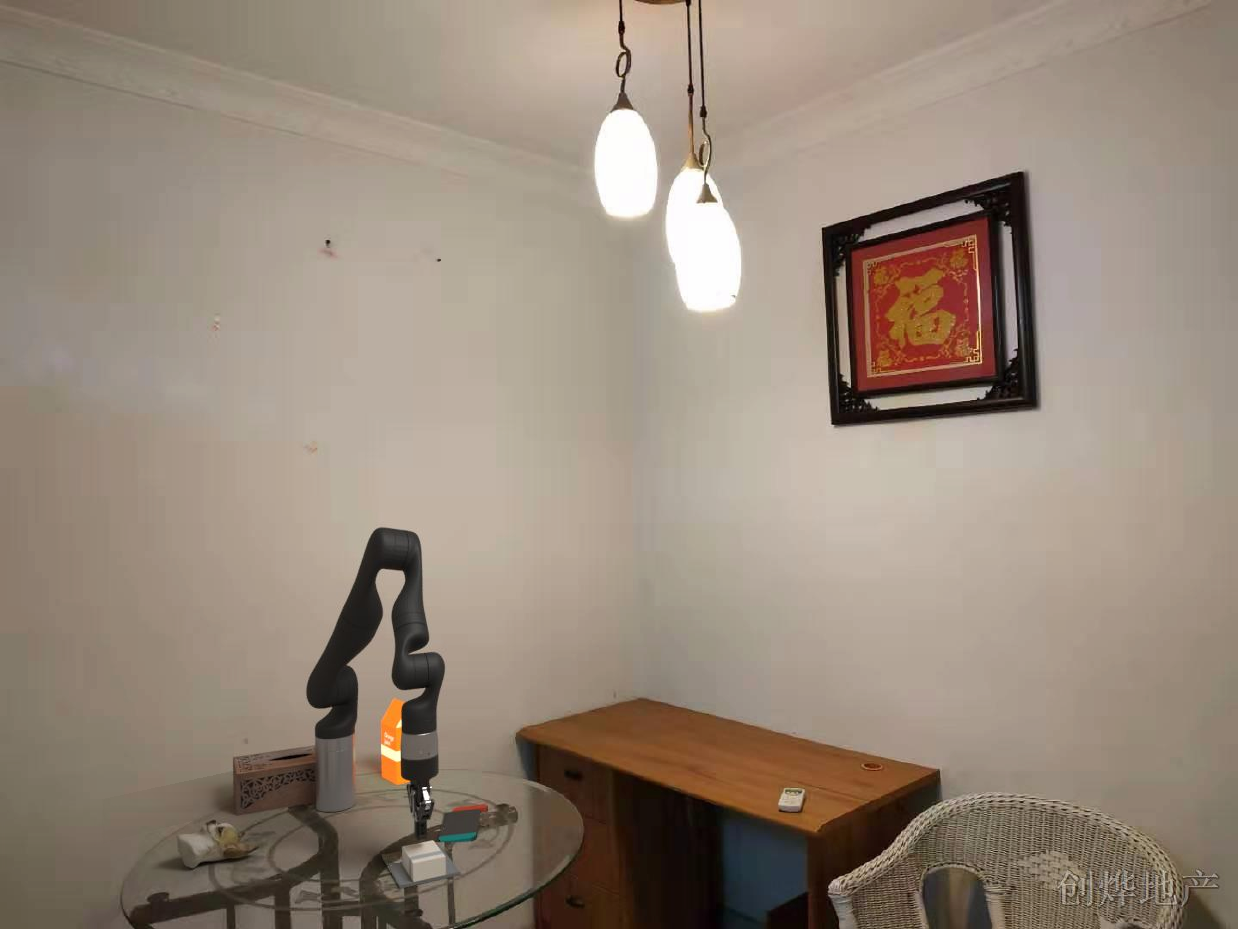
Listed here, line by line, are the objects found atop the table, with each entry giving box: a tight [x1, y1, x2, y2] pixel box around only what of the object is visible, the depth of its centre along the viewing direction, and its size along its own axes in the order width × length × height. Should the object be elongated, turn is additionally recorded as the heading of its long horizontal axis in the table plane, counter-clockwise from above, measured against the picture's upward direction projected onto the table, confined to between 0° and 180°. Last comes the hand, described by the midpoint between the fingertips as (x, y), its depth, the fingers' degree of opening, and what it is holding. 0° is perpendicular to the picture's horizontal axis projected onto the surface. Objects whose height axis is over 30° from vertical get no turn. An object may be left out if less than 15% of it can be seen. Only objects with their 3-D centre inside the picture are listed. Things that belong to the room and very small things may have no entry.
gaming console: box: [438, 804, 489, 843], centre depth 203 cm, size 19×1×10 cm
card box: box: [401, 840, 446, 882], centre depth 179 cm, size 4×6×9 cm
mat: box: [384, 842, 461, 889], centre depth 182 cm, size 16×12×1 cm
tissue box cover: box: [232, 744, 316, 816], centre depth 223 cm, size 26×14×10 cm, turn 116°
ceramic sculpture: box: [176, 819, 260, 869], centre depth 187 cm, size 11×9×15 cm
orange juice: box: [380, 697, 410, 786], centre depth 236 cm, size 8×9×20 cm
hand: (420, 838), depth 181 cm, fingers closed
